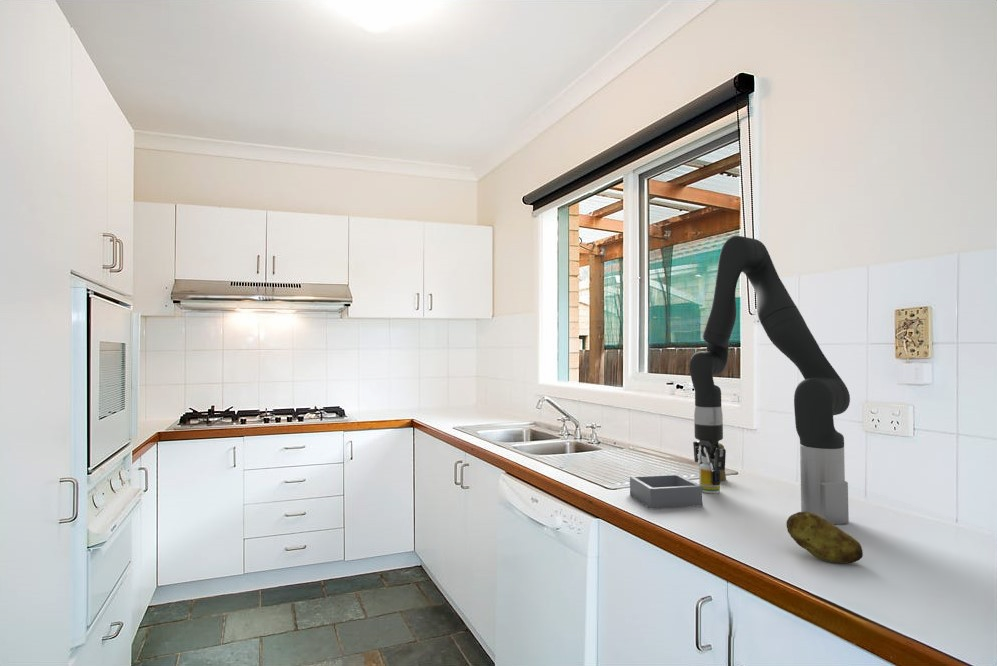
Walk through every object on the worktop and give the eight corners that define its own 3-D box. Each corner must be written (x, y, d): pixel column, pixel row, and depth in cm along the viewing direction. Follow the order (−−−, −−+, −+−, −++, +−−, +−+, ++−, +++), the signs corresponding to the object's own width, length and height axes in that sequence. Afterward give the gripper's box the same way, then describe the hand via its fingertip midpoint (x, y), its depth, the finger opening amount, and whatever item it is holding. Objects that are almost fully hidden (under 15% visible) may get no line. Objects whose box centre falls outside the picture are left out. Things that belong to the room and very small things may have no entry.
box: (702, 505, 153) (702, 486, 153) (650, 508, 151) (650, 488, 151) (677, 492, 167) (677, 474, 167) (630, 494, 165) (629, 476, 165)
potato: (838, 572, 109) (837, 528, 109) (779, 550, 120) (778, 510, 121) (868, 565, 112) (868, 522, 112) (809, 544, 124) (808, 505, 124)
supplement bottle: (696, 489, 170) (696, 455, 170) (715, 488, 170) (714, 455, 170) (703, 494, 164) (703, 459, 164) (723, 493, 165) (722, 458, 165)
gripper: (734, 425, 161) (735, 487, 161) (708, 418, 175) (709, 475, 175) (708, 426, 160) (710, 489, 159) (684, 419, 174) (685, 477, 174)
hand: (709, 481), depth 167 cm, fingers open, 6 cm apart
